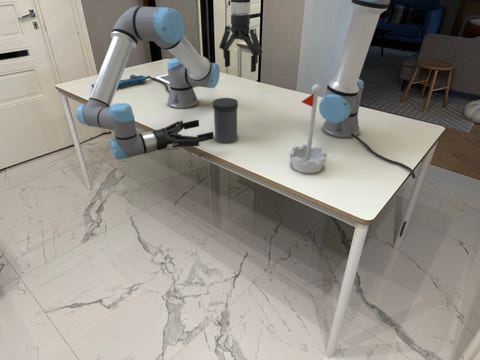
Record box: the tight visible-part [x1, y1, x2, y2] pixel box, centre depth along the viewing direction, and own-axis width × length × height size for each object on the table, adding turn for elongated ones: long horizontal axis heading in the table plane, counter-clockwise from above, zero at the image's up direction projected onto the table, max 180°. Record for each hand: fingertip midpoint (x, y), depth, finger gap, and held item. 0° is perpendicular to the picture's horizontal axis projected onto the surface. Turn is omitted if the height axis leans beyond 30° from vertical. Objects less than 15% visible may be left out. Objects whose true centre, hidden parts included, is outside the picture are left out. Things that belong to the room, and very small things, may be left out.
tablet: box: [153, 73, 196, 88], centre depth 212 cm, size 32×20×1 cm, turn 41°
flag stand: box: [289, 83, 328, 174], centre depth 116 cm, size 13×13×30 cm
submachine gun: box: [90, 74, 152, 89], centre depth 206 cm, size 34×4×25 cm
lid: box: [212, 97, 239, 112], centre depth 136 cm, size 10×10×2 cm
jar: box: [213, 108, 238, 144], centre depth 140 cm, size 9×9×16 cm
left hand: (205, 128), depth 136 cm, fingers open, 13 cm apart
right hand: (240, 68), depth 145 cm, fingers open, 13 cm apart
